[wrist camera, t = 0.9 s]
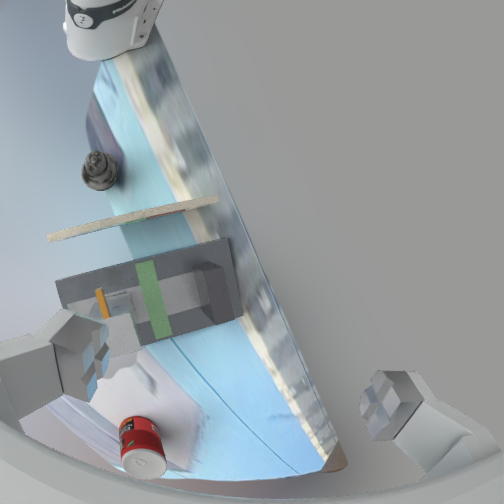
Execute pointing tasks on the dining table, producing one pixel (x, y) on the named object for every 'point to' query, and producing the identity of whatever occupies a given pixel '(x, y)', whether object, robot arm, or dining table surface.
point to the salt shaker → (99, 170)
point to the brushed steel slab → (117, 322)
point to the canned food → (141, 448)
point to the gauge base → (160, 280)
